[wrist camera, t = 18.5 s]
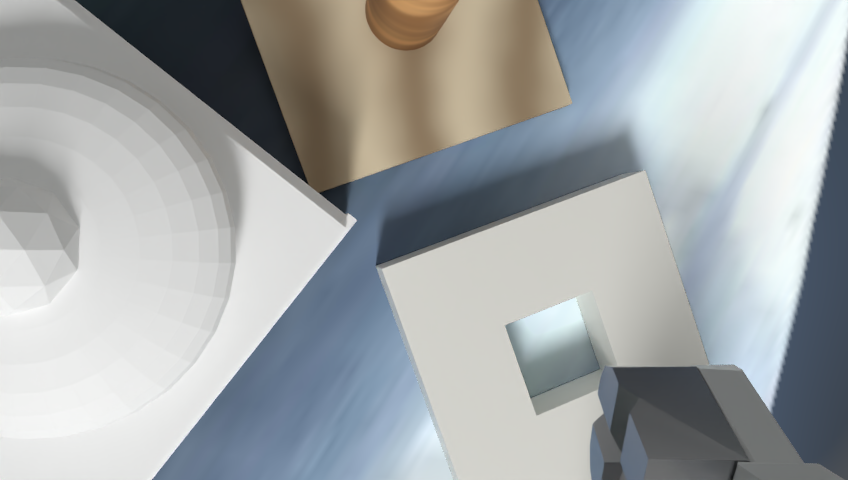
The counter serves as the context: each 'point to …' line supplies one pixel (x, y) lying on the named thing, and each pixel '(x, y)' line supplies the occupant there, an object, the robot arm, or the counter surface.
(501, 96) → the board
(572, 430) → the socket block
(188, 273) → the butter dish
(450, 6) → the plug
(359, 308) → the counter surface
